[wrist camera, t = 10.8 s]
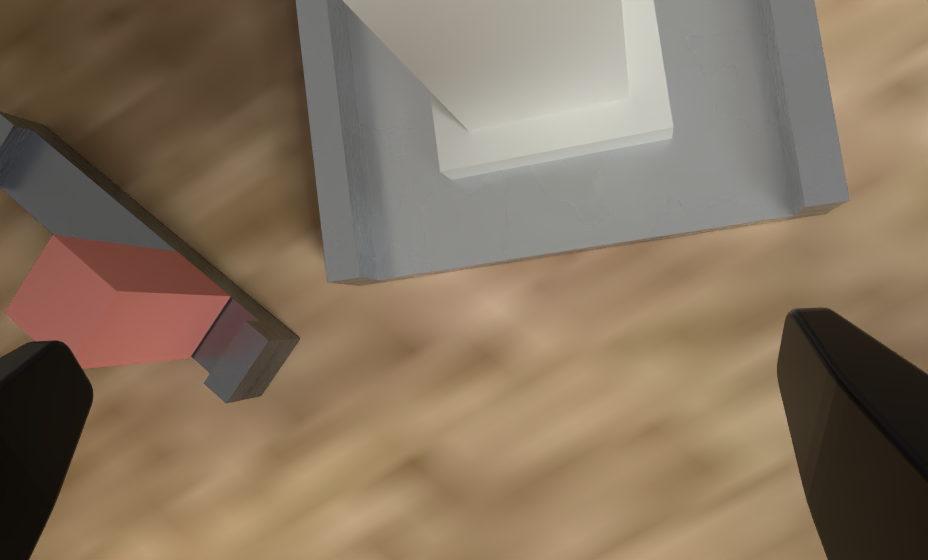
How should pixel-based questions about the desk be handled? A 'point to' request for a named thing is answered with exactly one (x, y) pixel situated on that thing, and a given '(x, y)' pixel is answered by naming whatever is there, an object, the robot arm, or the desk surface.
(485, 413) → the desk surface
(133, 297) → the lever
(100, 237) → the rail
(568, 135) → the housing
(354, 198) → the grey flat slab
